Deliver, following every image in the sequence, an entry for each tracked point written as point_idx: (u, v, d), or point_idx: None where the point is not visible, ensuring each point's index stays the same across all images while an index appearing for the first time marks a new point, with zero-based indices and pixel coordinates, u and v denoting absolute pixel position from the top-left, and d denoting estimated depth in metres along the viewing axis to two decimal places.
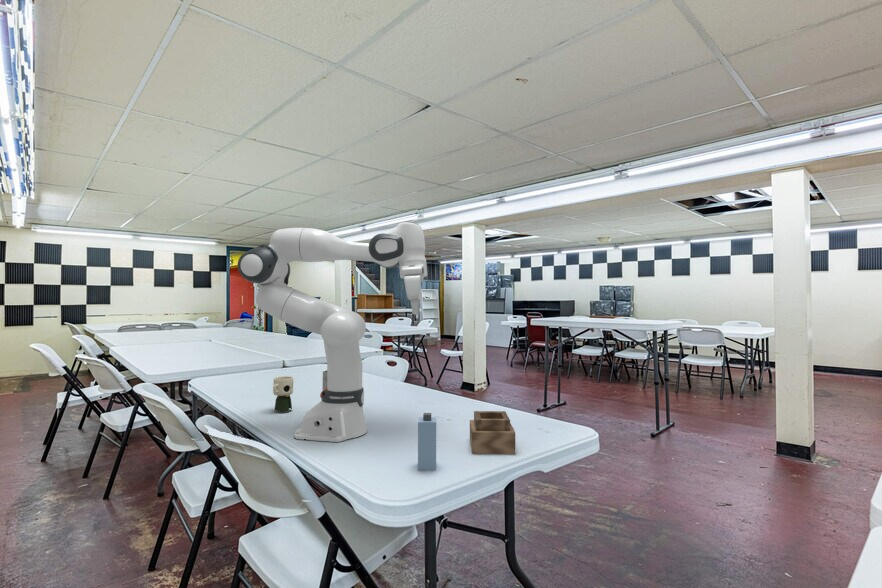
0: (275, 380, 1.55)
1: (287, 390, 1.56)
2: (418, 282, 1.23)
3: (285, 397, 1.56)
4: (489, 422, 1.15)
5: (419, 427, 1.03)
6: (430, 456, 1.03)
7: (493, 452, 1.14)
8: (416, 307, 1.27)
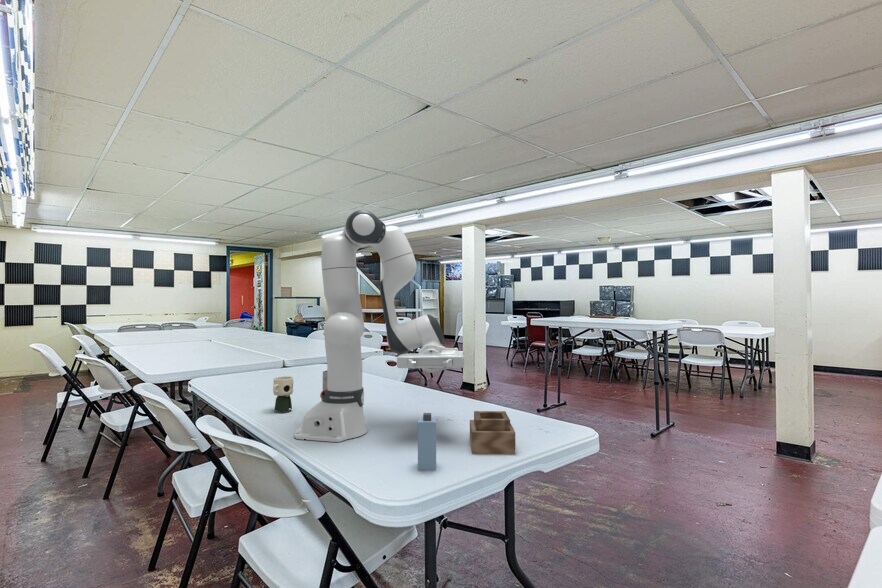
0: (275, 380, 1.55)
1: (287, 390, 1.56)
2: None
3: (285, 397, 1.56)
4: (489, 422, 1.15)
5: (419, 427, 1.03)
6: (430, 456, 1.03)
7: (493, 452, 1.14)
8: (449, 365, 1.20)
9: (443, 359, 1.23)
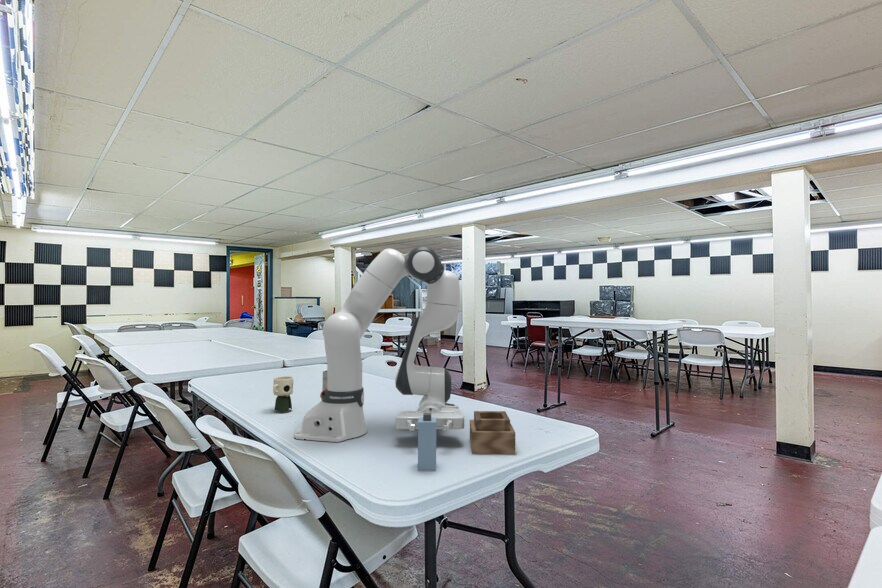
0: (275, 380, 1.55)
1: (287, 390, 1.56)
2: None
3: (285, 397, 1.56)
4: (489, 422, 1.15)
5: (419, 427, 1.03)
6: (430, 456, 1.03)
7: (493, 452, 1.14)
8: (449, 428, 1.16)
9: (443, 420, 1.20)
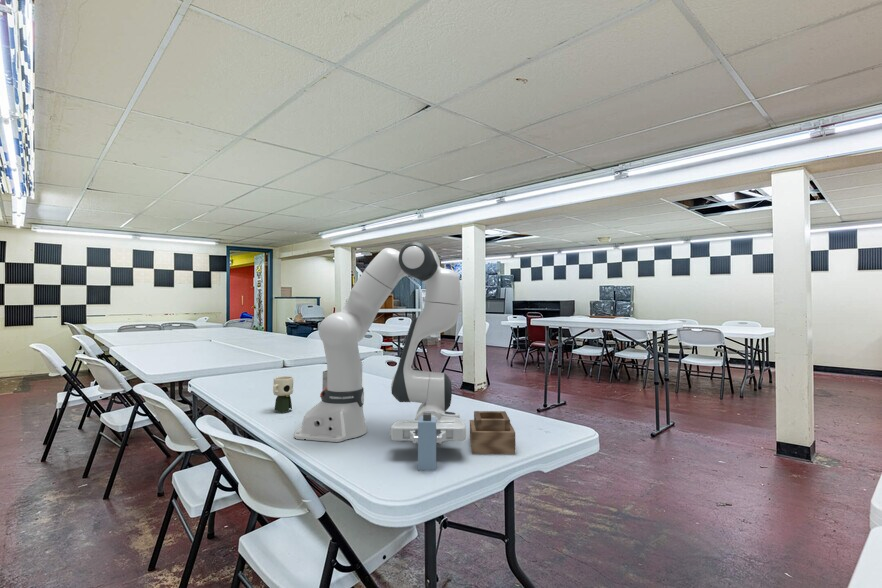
0: (275, 380, 1.55)
1: (287, 390, 1.56)
2: None
3: (285, 397, 1.56)
4: (489, 422, 1.15)
5: (419, 427, 1.03)
6: (430, 456, 1.03)
7: (493, 452, 1.14)
8: (442, 439, 1.06)
9: (436, 430, 1.10)
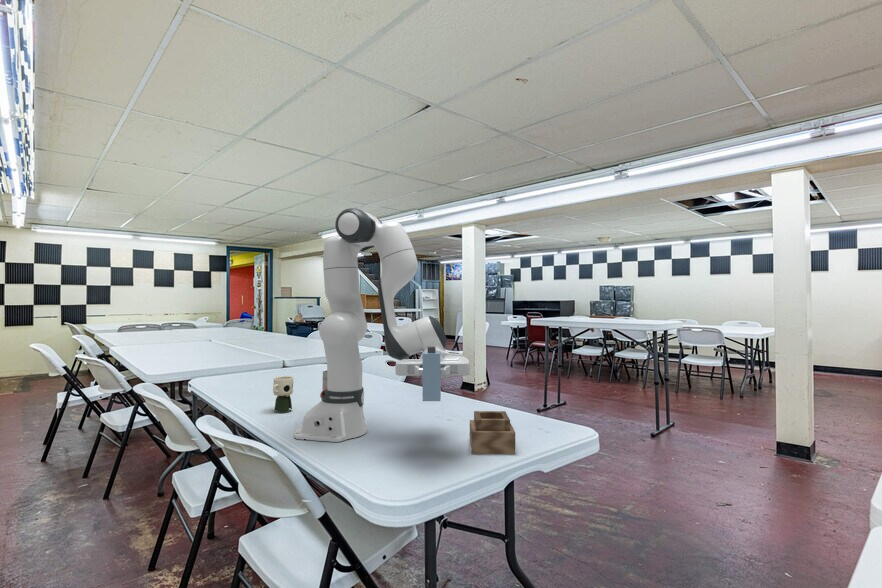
0: (275, 380, 1.55)
1: (287, 390, 1.56)
2: None
3: (285, 397, 1.56)
4: (489, 422, 1.15)
5: (423, 358, 1.04)
6: (435, 387, 1.04)
7: (493, 452, 1.14)
8: (447, 373, 1.07)
9: None
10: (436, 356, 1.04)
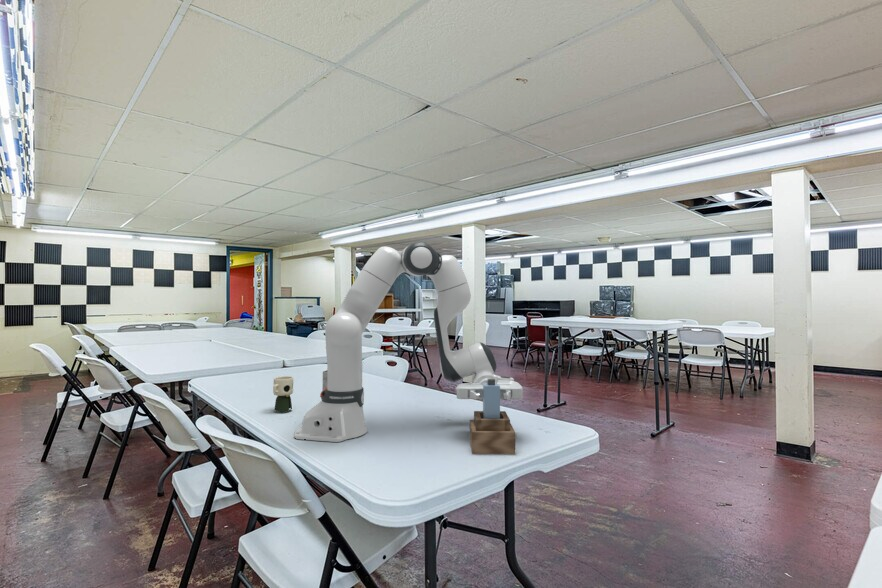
0: (275, 380, 1.55)
1: (287, 390, 1.56)
2: None
3: (285, 397, 1.56)
4: (489, 422, 1.15)
5: (485, 390, 1.18)
6: (495, 415, 1.18)
7: (493, 452, 1.14)
8: (508, 397, 1.21)
9: (501, 390, 1.25)
10: (496, 388, 1.18)
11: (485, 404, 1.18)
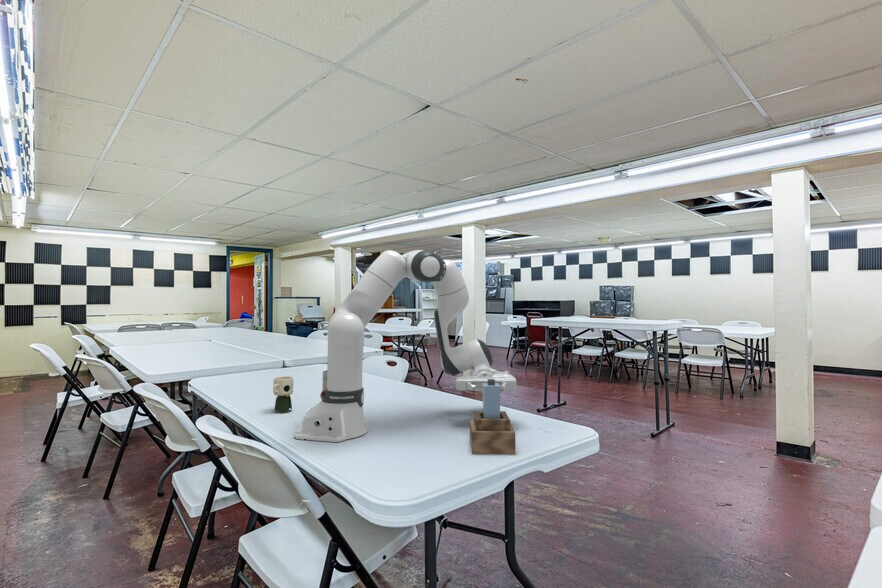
0: (275, 380, 1.55)
1: (287, 390, 1.56)
2: None
3: (285, 397, 1.56)
4: (489, 422, 1.15)
5: (485, 390, 1.18)
6: (495, 415, 1.18)
7: (493, 452, 1.14)
8: (504, 388, 1.33)
9: (498, 382, 1.36)
10: (496, 388, 1.18)
11: (485, 404, 1.18)
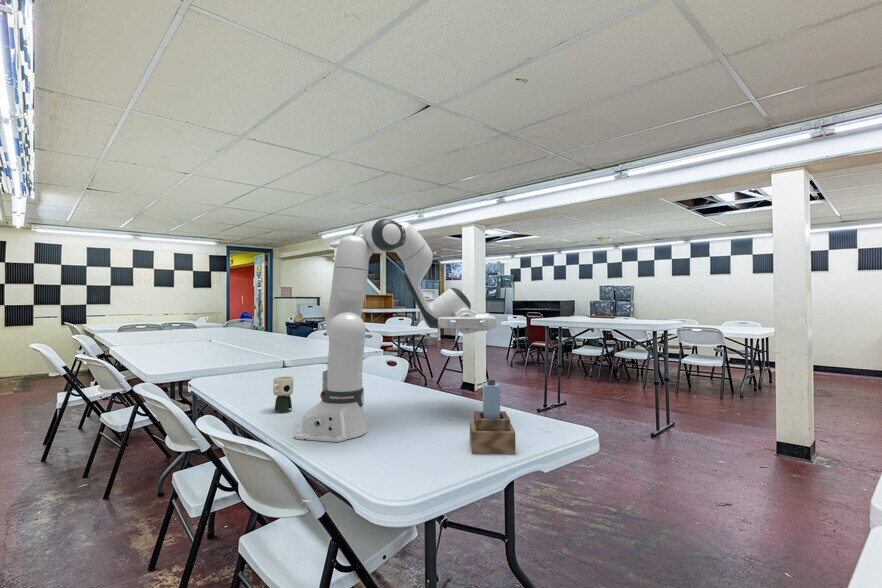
0: (275, 380, 1.55)
1: (287, 390, 1.56)
2: None
3: (285, 397, 1.56)
4: (489, 422, 1.15)
5: (485, 390, 1.18)
6: (495, 415, 1.18)
7: (493, 452, 1.14)
8: (484, 324, 1.39)
9: (478, 320, 1.42)
10: (496, 388, 1.18)
11: (485, 404, 1.18)
